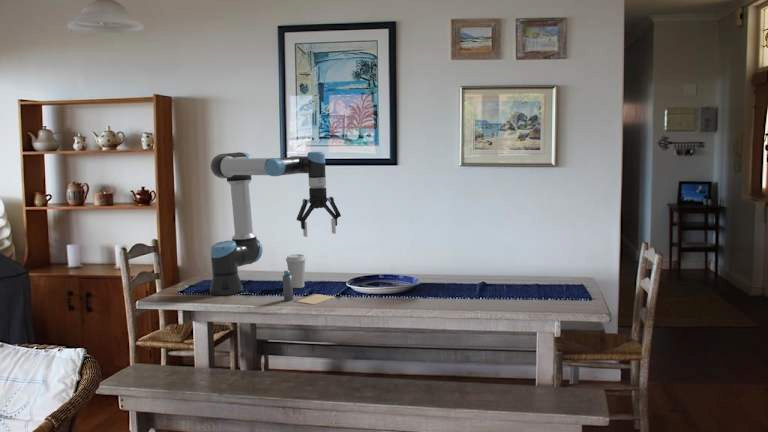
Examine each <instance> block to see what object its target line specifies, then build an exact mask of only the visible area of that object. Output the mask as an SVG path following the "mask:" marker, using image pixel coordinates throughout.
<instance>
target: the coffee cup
mask: <svg viewBox="0 0 768 432" xmlns="http://www.w3.org/2000/svg"><path fill="white" fill-rule="evenodd" d="M306 260H307V259H306V256H305V255H304V254H300V253H298V254H289V255H287V256H286V258H285V262H286V264H287V271H290V275H292V288H293V289H301V288H304V287H305V276H306V275H305V274H306V273H305V271H306Z"/></svg>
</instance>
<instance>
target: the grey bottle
mask: <svg viewBox="0 0 768 432" xmlns="http://www.w3.org/2000/svg"><path fill="white" fill-rule="evenodd" d="M283 273H284V274H283V275H282V289H283V301H284V302H292V301H294V292H293V291H294V290H293V289H294V288H292V275H290V271H288V270H284V271H283Z"/></svg>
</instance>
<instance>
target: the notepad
mask: <svg viewBox="0 0 768 432" xmlns="http://www.w3.org/2000/svg"><path fill="white" fill-rule="evenodd" d="M334 298H336V296H333V295H327V294H320V293H313V294H310V295H307V296H304V297H301V298H298V299H295V300H293V302H295V303H301V304H308V305H314V306H315V305H318V304H321V303H323V302H327V301H329V300H332V299H334Z"/></svg>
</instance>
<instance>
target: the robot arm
mask: <svg viewBox="0 0 768 432" xmlns="http://www.w3.org/2000/svg"><path fill="white" fill-rule="evenodd" d="M325 157H326V156H325V152H323V151H309V152H307V155H306V156H300V155H299V156H298V155H295V156H294V155H293V156H289V157H270V158H269V157H267V158H265V157H263V158H262V157H255V158H254V157H253V156H251V155H250V153H248V152H242V151H241V152H240V151H238V152H231V153H230V152H229V153H228V152H227V153H219V154H216V156H214V157H213V158H212V160H211V162H210V170H211V173H212V174H213V175H214V176H215V177H217V178H219V179H226V182H227V183H228V184H229V185H230V195H231V205H232V206H231V207H232V217H233V226H234V235H233V236H232V237H231V240H224V241H219V242H215V243H214V244H212V245H211V247H210V259H211V260H210V261H211V270H212V271H211V272H212V278H211V282H210V287H209V294H210V293H211V295H212V294H213V295H212V296H229V295H231V296H232V295H235V294H238V292H239V293H241V292H240V291H242V290H244V286H243V284H242V281H241V278H240V276H239V271H238V270H239V269H238V267H242V266H245V265H252V264H253V263H256V262H258V261H259V260H260V259H261V258H262V254H263V249H264V248H263V245H262V243H261V241H260V240H259V239H258V237H257V235H256V234H255V233H254V232H253V231H254V230H253V221H252V220H253V219H252V208H251V207H252V206H251V195H250V182H251V181H252V176H270V177H281V176H286V175H287V176H288V175H297V174H308V175H307V176H308V187H309V189H308V194H309V195H308V196H309V198H308V199H306V198H303V199H302V204H301V207H300V209H299V211H298V214H297V216H296V221H298V222H300V228H301V230H302V232H303V234H302V235H303V237H304V238H307V237H308V225H307V224H308V223H307V219H308V218H309V216H310V215H311V213H312V212H313V211H314V210H315V209H316V210H317V209H319V208H320V209H324V210H326V212H327V213H328V214H329V215H330V216H331V218H330V220H331V221H330V222H331V224H330V225H331V234H337V232H336V231H337V229H336V227H337V226H338V218H341V217H342V215H341V213H340V211H339V208H338V207H337V205H336V203H335V200H334V197H333V196H329V197H327V195H328V194H327V193H328V192H327V187H326V186H327V177H326V158H325ZM327 202H328V203H329V205H330V207H331V208H330V207H329V205H328V203H327ZM308 204H309V206H308ZM307 207H308V208H307ZM306 209H307V210H306ZM242 292H243V291H242Z"/></svg>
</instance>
